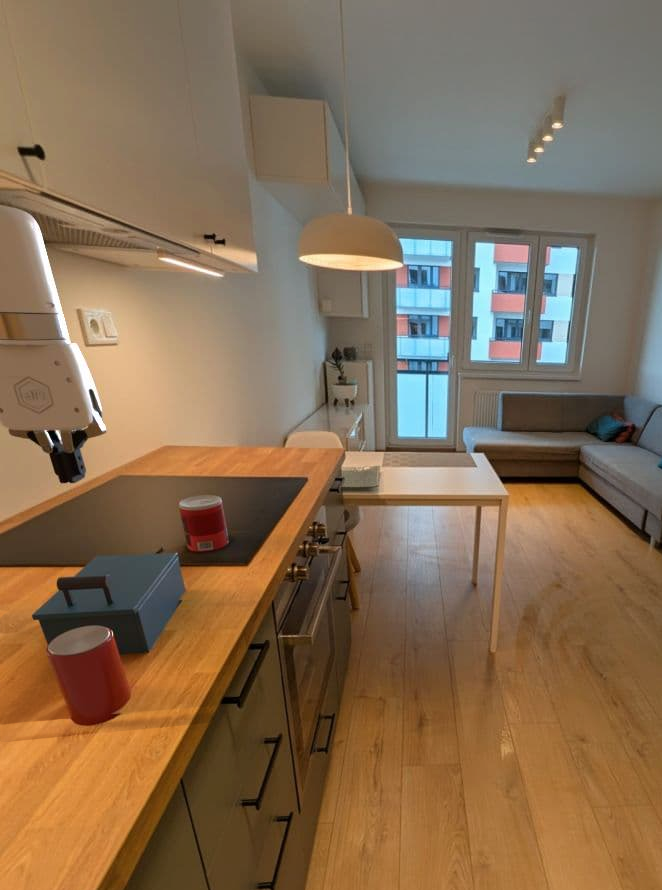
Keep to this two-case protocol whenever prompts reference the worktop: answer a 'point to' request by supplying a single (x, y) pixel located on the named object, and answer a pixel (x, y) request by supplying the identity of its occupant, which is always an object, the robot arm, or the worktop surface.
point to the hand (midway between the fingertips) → (73, 480)
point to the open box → (131, 617)
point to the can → (89, 674)
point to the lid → (107, 586)
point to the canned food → (204, 523)
